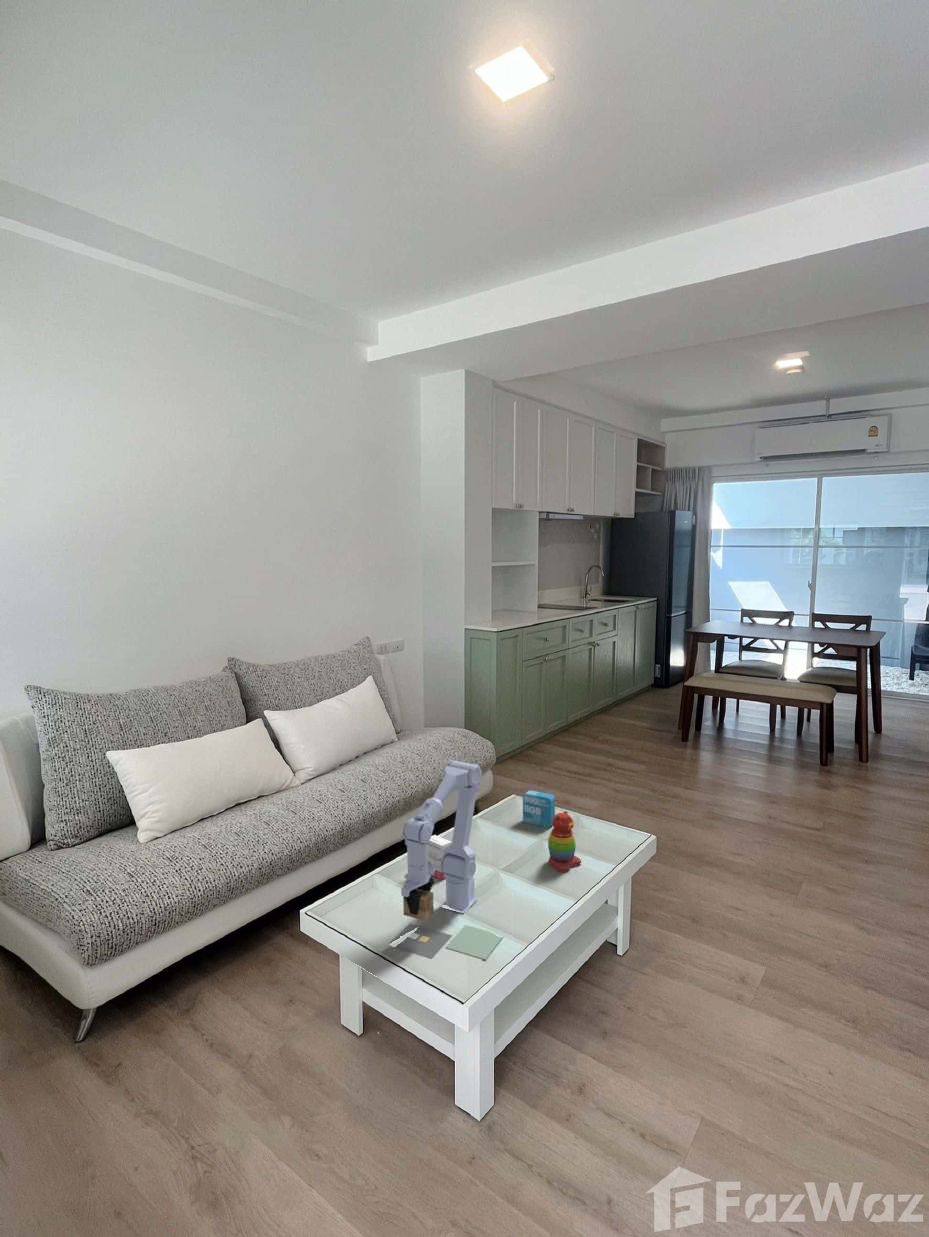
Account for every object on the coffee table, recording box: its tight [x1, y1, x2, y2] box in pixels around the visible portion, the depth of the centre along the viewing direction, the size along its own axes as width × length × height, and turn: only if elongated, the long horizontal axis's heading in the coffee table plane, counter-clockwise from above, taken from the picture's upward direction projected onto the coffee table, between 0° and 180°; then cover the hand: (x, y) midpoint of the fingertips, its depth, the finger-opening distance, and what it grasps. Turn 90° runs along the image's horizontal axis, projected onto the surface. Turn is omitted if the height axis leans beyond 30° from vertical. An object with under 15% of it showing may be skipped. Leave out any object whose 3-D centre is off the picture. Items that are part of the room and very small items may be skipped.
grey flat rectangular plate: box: [389, 922, 453, 960], centre depth 184 cm, size 12×14×1 cm
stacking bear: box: [547, 811, 582, 873], centre depth 228 cm, size 11×10×18 cm
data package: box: [522, 789, 556, 828], centre depth 261 cm, size 12×4×12 cm, turn 60°
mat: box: [445, 924, 503, 961], centre depth 183 cm, size 12×12×1 cm
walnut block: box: [402, 888, 435, 922], centre depth 184 cm, size 4×7×6 cm, turn 63°
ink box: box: [428, 834, 452, 881], centre depth 221 cm, size 8×5×12 cm, turn 47°
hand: (418, 909), depth 184 cm, fingers closed on walnut block, 4 cm apart
